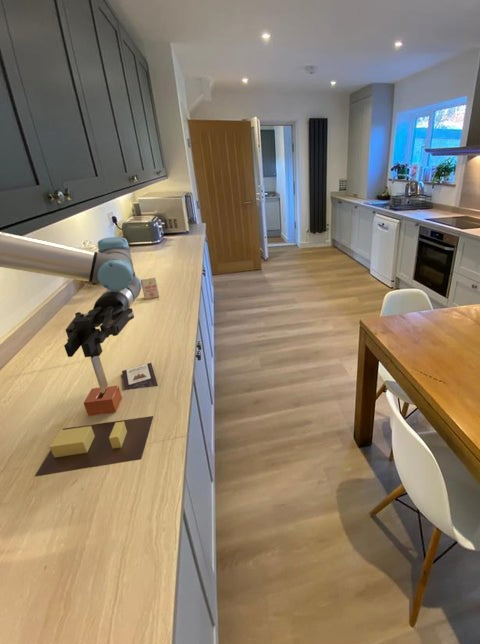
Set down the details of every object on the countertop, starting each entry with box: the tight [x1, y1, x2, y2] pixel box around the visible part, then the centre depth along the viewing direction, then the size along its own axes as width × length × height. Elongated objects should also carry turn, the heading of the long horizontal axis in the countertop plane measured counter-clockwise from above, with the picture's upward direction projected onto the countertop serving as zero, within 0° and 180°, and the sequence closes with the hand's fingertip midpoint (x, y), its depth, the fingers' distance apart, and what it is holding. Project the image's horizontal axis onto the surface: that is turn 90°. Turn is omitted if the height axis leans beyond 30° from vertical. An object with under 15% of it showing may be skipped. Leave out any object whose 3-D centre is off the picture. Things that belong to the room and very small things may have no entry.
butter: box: [49, 426, 95, 458], centre depth 77 cm, size 7×5×4 cm
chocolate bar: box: [121, 362, 159, 391], centre depth 101 cm, size 9×1×18 cm
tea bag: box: [140, 277, 160, 301], centre depth 163 cm, size 4×7×10 cm, turn 116°
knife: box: [73, 317, 109, 393], centre depth 73 cm, size 3×3×19 cm
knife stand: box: [83, 385, 123, 417], centre depth 90 cm, size 7×6×6 cm
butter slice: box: [109, 421, 127, 449], centre depth 79 cm, size 2×5×4 cm, turn 12°
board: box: [34, 415, 154, 478], centre depth 79 cm, size 22×14×2 cm, turn 102°
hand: (78, 350), depth 67 cm, fingers closed on knife, 3 cm apart
